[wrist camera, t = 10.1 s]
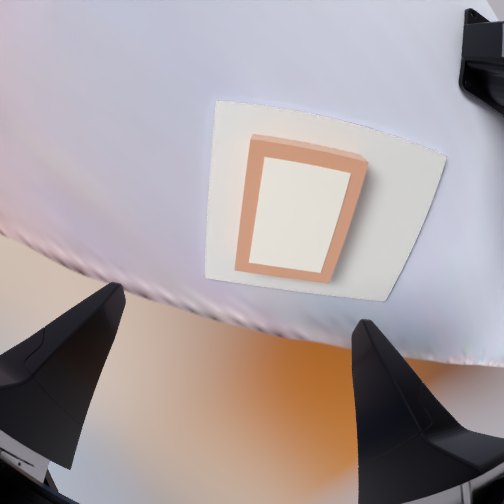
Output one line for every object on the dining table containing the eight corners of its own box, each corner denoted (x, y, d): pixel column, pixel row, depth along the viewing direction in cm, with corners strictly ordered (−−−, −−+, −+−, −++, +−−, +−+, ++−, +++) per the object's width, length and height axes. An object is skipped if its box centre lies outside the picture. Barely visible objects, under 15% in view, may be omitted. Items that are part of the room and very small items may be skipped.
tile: (368, 162, 12) (250, 139, 12) (329, 284, 17) (234, 271, 17) (359, 154, 14) (252, 133, 14) (325, 268, 18) (237, 255, 18)
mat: (443, 154, 13) (447, 156, 13) (383, 297, 20) (384, 301, 20) (218, 100, 13) (216, 100, 13) (206, 273, 20) (204, 278, 20)
